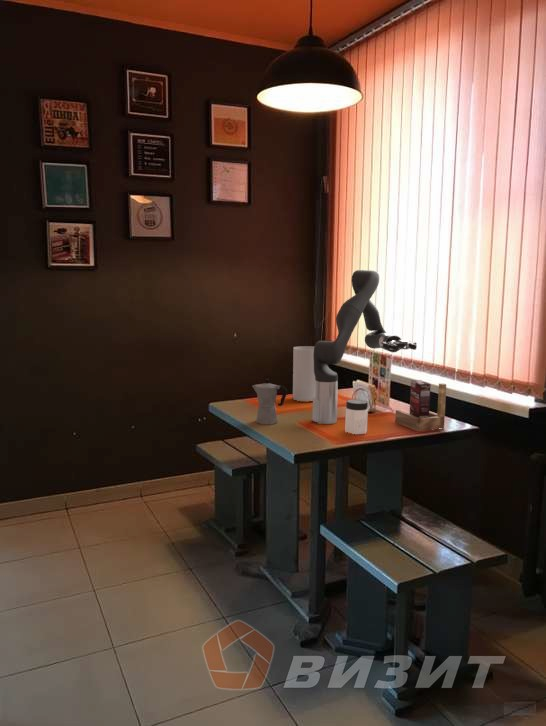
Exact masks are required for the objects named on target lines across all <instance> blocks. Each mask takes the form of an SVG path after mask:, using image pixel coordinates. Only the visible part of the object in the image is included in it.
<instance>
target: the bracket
mask: <svg viewBox="0 0 546 726" xmlns="http://www.w3.org/2000/svg"><path fill="white" fill-rule="evenodd" d="M446 395H447V384H446V383H444V382H443V383H438V395H437V397H438V398H437V410H436V411H437V412H436V413H435V412H433V411H430V410H429V417H426V418H418V417H416V416H413V415H411V414H410V413H408V412H405V411H403V410H401V409H395V419H394V421H395V423H396V424H399V425H400V426H401V425H402V426H404V427H406V428H409V429H410V428H411V430H413V431H415V430H416V432H418V431H422V432H426V431H425V430H431V431H433V430H432V429H439V428H444V429H445V419H446V418H445V417H446V397H447V396H446Z"/></svg>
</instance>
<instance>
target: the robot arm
mask: <svg viewBox="0 0 546 726" xmlns="http://www.w3.org/2000/svg"><path fill="white" fill-rule="evenodd" d="M379 274H380V273H378V271H375V270H370V269H369V270H366V269H357V270H356V269H355V271H354V272H353V273H352V275H351V287H352V289H353V293H354V295H353V296H352V297H350V298H348V299H347V300H346V301H344V302H343V303H342V305H341V307H340V308H339V310H338V311H337V314H336V316H335V324H336V327H337V332H338V333H337V336H336V338H335V340H334V341H333V340H332V341H331V340H319V341H317V342H316V343H315V345H314V346H313V347H314V354H313V355H314V374H315V398H313V402H312V416H311V417H312V421H313V422H315V423H316V422H317V423H316V424H319V425H331V424H332V425H333V424H335V423H337V421H338V391H339V390H338V387H339V385H338V384H339V383H338V382H339V381H338V380H339V375H338V373H337V372H336V371H334V370H332V369H331V368H330V367H329V365H333V366H334V365H338V364H340V362H341V361H342V359H343V356H344V353H345V351H346V348H347V346H348V344H349V341H350V339H351V336H352V335H353V332H354V330H355V328H356V326H357V324H358V323H359V320H360V318H361V316H362V315H363V320H364V324H365V328H366V330H367V331H371V332H369V333H367V334H366V335H365V337H364V342H365V344H366V346H367V347H368V348H370V349H383V350H384V351H387V352H391V353H397V352H399V351H400V350H409V349H410V350H414V351H416V349H417V347H418V346H417V345H418V344H417V342H416V341H411V340H408V341H407V340H402V338H401V337H400V336H398V335H397V334H396V335H395V334H392V333H387V332H386V330H385V329H384V327H383V324H382V322H381V316H380V312H379V310H378V308H377V306H376V305H375V303H373V302H372V300H371V298H372V297H373V295H374V294H375V292H376V290H377V289H378V286H379V284H380V275H379Z"/></svg>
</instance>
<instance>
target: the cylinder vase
mask: <svg viewBox="0 0 546 726" xmlns="http://www.w3.org/2000/svg"><path fill="white" fill-rule="evenodd" d="M314 347H315V346H312V345H311V346H309V345H308V346H307V345H306V346H305V345H304V346H302V345H301V346H293V352H292V353H293V355H292V356H293V359H292V363H293V365H292V372H293V373H292V399H293V400H294V401H295V400H298V401H313V398H315V374H314V355H313V354H314ZM298 401H297V402H298Z"/></svg>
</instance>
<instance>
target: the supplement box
mask: <svg viewBox="0 0 546 726" xmlns="http://www.w3.org/2000/svg"><path fill="white" fill-rule="evenodd" d="M430 401H431V383H429V382H427V381H424V380H422V379H413V380H410V396H409V414H411V415H413V416H416V417H418V418H426V417H429V411H430V403H431V402H430Z"/></svg>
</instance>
